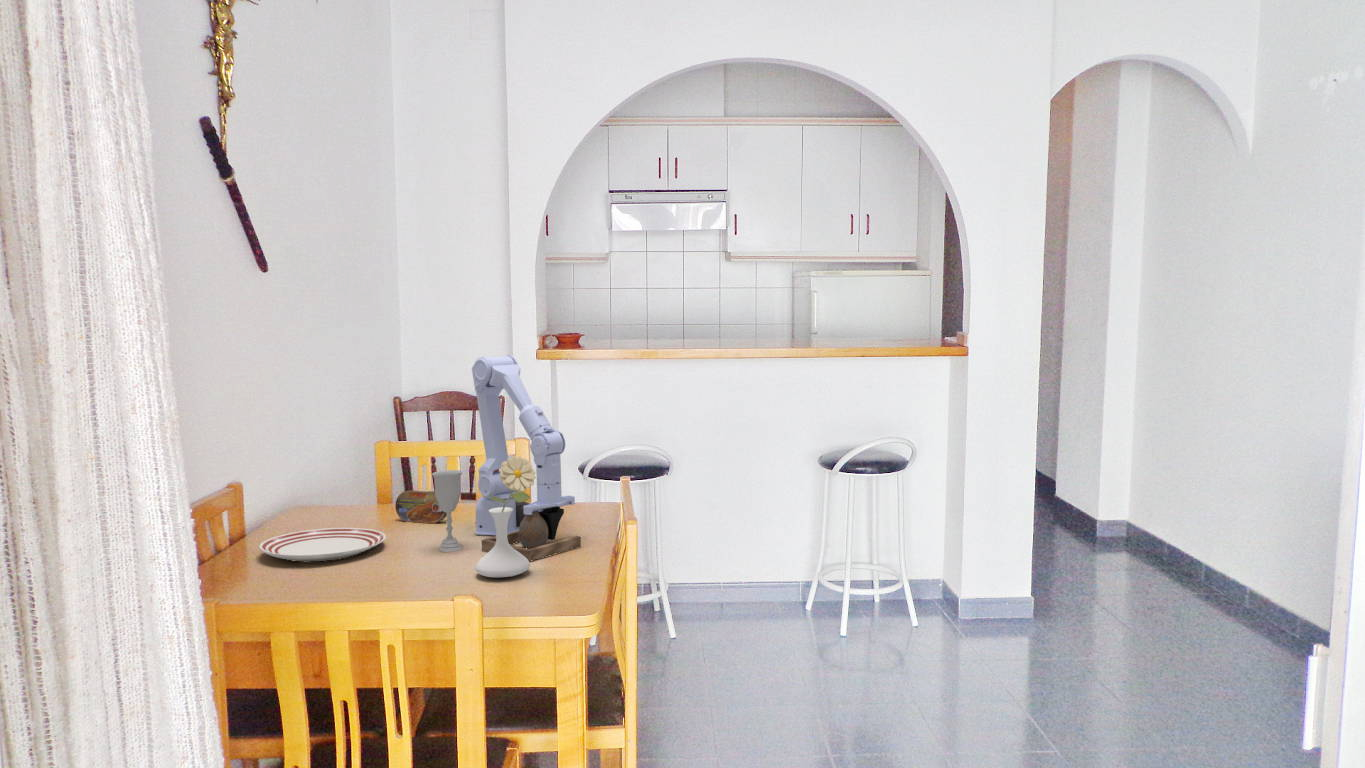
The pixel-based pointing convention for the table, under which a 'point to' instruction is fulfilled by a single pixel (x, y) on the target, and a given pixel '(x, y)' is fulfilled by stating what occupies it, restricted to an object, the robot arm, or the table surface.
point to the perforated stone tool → (520, 512)
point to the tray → (537, 551)
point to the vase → (533, 531)
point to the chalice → (448, 502)
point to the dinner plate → (322, 544)
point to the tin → (419, 507)
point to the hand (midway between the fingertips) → (550, 539)
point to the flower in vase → (502, 555)
